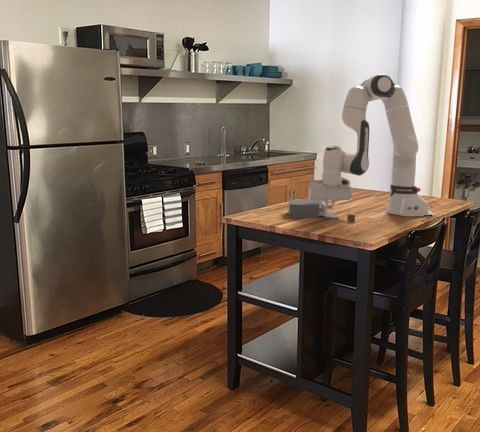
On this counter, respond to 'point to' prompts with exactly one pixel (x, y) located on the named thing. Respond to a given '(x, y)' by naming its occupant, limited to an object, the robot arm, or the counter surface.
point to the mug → (317, 199)
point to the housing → (307, 210)
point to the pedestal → (351, 217)
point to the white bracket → (323, 210)
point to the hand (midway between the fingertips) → (329, 208)
